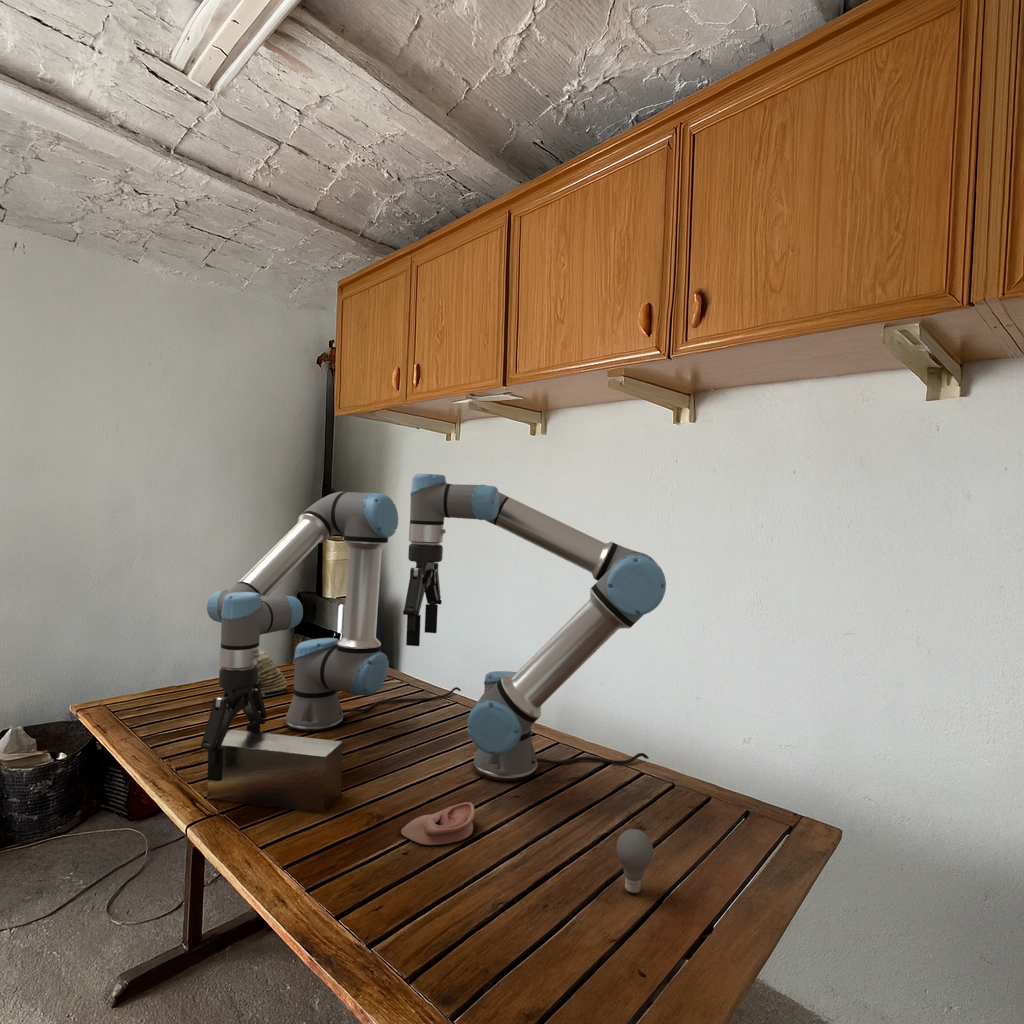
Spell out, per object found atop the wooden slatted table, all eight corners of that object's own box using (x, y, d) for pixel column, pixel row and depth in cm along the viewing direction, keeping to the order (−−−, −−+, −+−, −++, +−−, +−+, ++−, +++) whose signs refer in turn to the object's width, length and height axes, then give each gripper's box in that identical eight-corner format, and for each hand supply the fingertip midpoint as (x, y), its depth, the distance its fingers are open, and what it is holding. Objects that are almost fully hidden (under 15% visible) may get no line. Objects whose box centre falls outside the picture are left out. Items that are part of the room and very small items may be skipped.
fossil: (218, 695, 195) (220, 647, 195) (278, 685, 208) (279, 640, 207) (228, 703, 189) (230, 653, 188) (289, 692, 201) (290, 645, 201)
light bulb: (610, 879, 108) (613, 822, 108) (644, 879, 109) (647, 822, 109) (619, 902, 102) (622, 840, 102) (655, 901, 103) (658, 840, 103)
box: (206, 798, 131) (208, 743, 131) (230, 781, 139) (232, 729, 139) (323, 813, 127) (326, 756, 127) (341, 794, 135) (343, 741, 135)
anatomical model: (395, 819, 118) (416, 792, 129) (394, 840, 118) (415, 811, 129) (464, 829, 115) (479, 801, 126) (463, 851, 115) (479, 820, 126)
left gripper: (219, 683, 121) (214, 794, 121) (285, 654, 146) (281, 746, 146) (183, 680, 122) (178, 789, 122) (255, 652, 147) (250, 743, 147)
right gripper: (426, 548, 128) (422, 653, 128) (455, 541, 152) (452, 629, 153) (390, 546, 129) (386, 650, 129) (425, 539, 153) (422, 626, 154)
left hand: (234, 766), depth 134 cm, fingers open, 13 cm apart
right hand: (422, 638), depth 141 cm, fingers open, 13 cm apart
